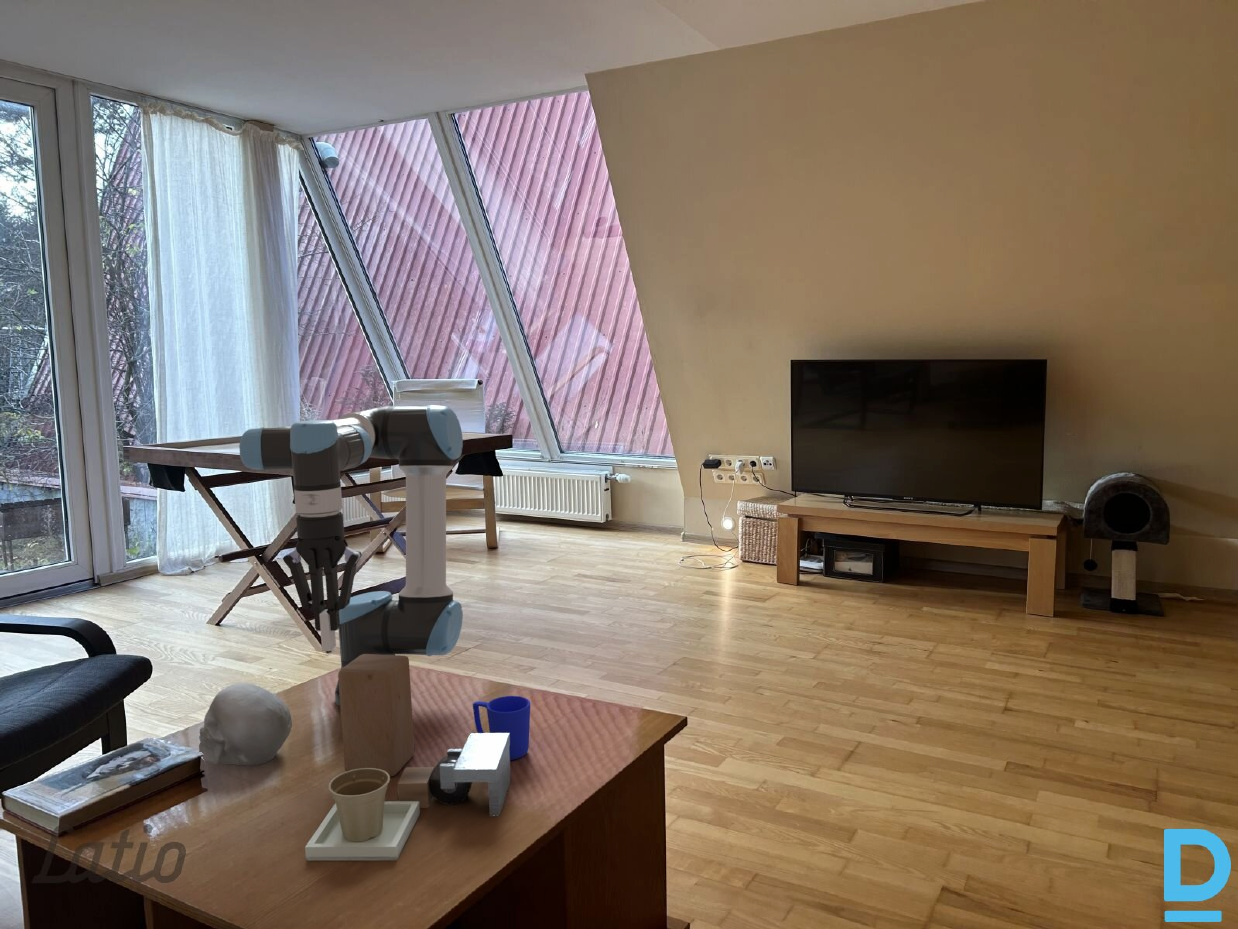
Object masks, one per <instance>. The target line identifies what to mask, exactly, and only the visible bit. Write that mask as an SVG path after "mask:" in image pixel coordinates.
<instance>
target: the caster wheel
mask: <svg viewBox="0 0 1238 929" xmlns="http://www.w3.org/2000/svg"><path fill="white" fill-rule="evenodd" d="M509 746H510V733H490V732H484V733H478V732H472V733H471V732H470V734H469V735H468V738H467V739H466V742H465V744H464V746H463V748H448V749H447V751H446V754H447V755H446V756H444V757H442V758H441V759H440V760H438V762H437V763H436V766H434V771H433V773H432V775H431V777H430V781H429V788H430V791H431V793H432V795H433V798H434V799H435V800H436V801H438V802H440V803H442V804H444V805H451V806H452V805H457V804H459V803H461V802H463V801H464V800H465V799H466V798H467V797H468V795H469V793H470V792H471V789H472V786H473V784H474V783H487V784H488V785H487V786H488V787H487V788H488V805H489V806H488V808H489V809H488V810H489V816H490V815H491V816H490V817H500V816H501V813H500V812H502V810H503V807H504V803H505V800H506V798H507V795H508V792H507V790H508V791H509V789H508V788H510V786H511V785H510V784H511V783H510V782H512V781H511V780H512V778H511V760H510V755H509ZM509 785H510V786H509ZM506 794H507V795H506ZM505 797H506V798H505ZM501 809H502V810H501ZM493 815H495V816H493ZM497 815H498V816H497ZM499 815H500V816H499Z"/></svg>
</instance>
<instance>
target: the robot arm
mask: <svg viewBox="0 0 1238 929" xmlns="http://www.w3.org/2000/svg"><path fill="white" fill-rule="evenodd" d="M463 442H464V439H463V431H462V428H461V424H460V421H459V419H458V416H457V414H456V412H454V410H453V409H452V408H450V407H449V406H445V405H435V404H428V405H427V404H426V405H395V406H394V405H385V406H378V407H373V408H369V409H364V410H360V411H355V412H350V413H349V412H348V413H346V414H343V415H341V416H340V417H339V418H337V419H333V420H331V419H315V420H314V419H313V420H312V419H311V420H303V421H296V422H294V423H292V424H291V425H287V426H279V427H262V426H261V427H259V428H257V427H256V428H250V429H247V430H245V431H244V432H243V433H242V436H241V438H240V441H239V446H238V449H239V457H240V461H241V463H243V465H244V467H246V468H247V469H250V470H258V471H261V470H262V471H279V470H281V471H285V470H288V471H289V470H292V476H293V491H294V492H293V494H294V508H295V512H296V513H298V515H296V516H297V517H296V518H295V519H296V520H295V521H296V533H297V543H296V545H295V549H294V550H293V551H291V552H289V553H287V554H285V555H283V557H282V561H283V562H284V563H285V565H286V566H287V567H288V569H289V570H290V574H291V577H292V580H293V583H294V586H295V588H296V593H297V595H298V596H297V597H298V598H299V601H300V605H301V608H302V609H303V610H305V611H307V610H308V611H311V612H312V613H313V616H314V617H313V618H314V628H315V631H316V632H320V639H321V640H320V641H321V651H322V652H331V651H333V649H335V648H336V647H337V640H336V639H337V637H336V631H338V639H339V641H338V642H339V653H340V666H341V667H340V670H341V669H342V668H343V667H345V666H346V665H348V664H349V663H350V662H352V661H353V660H355V659H356V658H357V657H359V656H360V655H362V654H379V655H409V656H413V655H415V656H418V655H419V656H428V657H432V656H445V655H447V654H450V653H451V652H452V651H453V650H454V648H455V647H456V645H457V643H458V640H459V638H460V636H461V631H462V627H463V616H464V615H463V609H462V608H463V607H462V603H460V602H459V601H458V600H454V591H453V590H452V589H451V588H450V587H449V586H448V585H447V475H448V473H449V472H450V471H451V470H452V469H453V468H454V461H455V460H456V459H459V458H460V457H461V455H462V452H463V446H464V444H463ZM369 458H373V459H385V460H398V468H399V469H400V470H401V472H403V473H404V475H405V586H404V587H403V588H402V589H401V590H400V591H399V592H398V599H394V600H393V598H394V597H393V595H392V593H391V592H390V591H388V590H378V591H377V590H376V591H370V592H366V593H361V594H357V595H354V596H352V592H353V591H352V590H353V586H354V582H355V580H354V579H355V575H356V568H357V564H358V562H359V561H360V559H361V557H362V552H361V551H360V550H357V551H355V550H354V549H352V548H351V547H349V545H348V542H347V540H346V538H345V527H344V526H345V524H344V514H343V512H341V510H342V509H343V498H342V497H343V496H342V485H341V484H342V482H341V472H342V471H347V470H348V469H355V468H357V467H359V466H360V465H362V464H364V463H365V462H367V460H368V459H369ZM342 557H344V561H345V562H346V563H345V566H344V570H343V576H342V582H341V587H340V591H339V579H338V569H339V565H338V564H339V563H340V560H341V559H342ZM302 560H303V561H304V562H305V563H306V565H308V566H307V567H308V574H309V576H310V584H309V582H308V579H307V576H306V572H305V570H304V566H303V564H302ZM323 573H324V574H323ZM323 575H325V576H323ZM324 577H325V578H324ZM323 578H324V579H325V586H326V587H325V588H326V589H325V590H326V602H327V604H325V590H324V579H323ZM326 607H327V609H326ZM334 702H335V704H336V705H337V706H338V707H339V708H340V695H339V681H338V680H337V683H336V687H335V691H334Z"/></svg>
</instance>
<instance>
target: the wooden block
mask: <svg viewBox="0 0 1238 929" xmlns="http://www.w3.org/2000/svg"><path fill="white" fill-rule="evenodd" d="M410 672H411V670H410V659H409V656H408V655H407V656H406V655H402V654H395V655H379V654H362V655H360V656H359V657H357V658H356V659H355V660H353V661H352V662H350V663H349V664H348V665H346V666H345V667H343V668H342V669H341V668H340V669H339V670H338V675H337V676H338V677H337V678H338V679H337V682H338V681H339V695H340V707H339V710H340V718H341V720H340V721H341V733H342V735H341V736H342V747H343V749H342V750H343V751H342V752H343V762H344V772H347V771H350V770H354V769H360V768H376V769H381V770H384V771H386V772H387V773H388V774H389V776H390V778H391V777H394V776H396V775H397V774H398V773H399V771H401V769H402V768H404V766H405V765H406V764H407V763H408V762H409V761H410V760H411V759H412V758H413V756H414V754H415V741H414V739H415V738H414V721H413V720H414V719H413V707H412V706H413V705H412V704H413V703H412V690H411V689H412V688H411V687H412V686H411V674H410Z"/></svg>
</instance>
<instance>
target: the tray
mask: <svg viewBox="0 0 1238 929" xmlns="http://www.w3.org/2000/svg"><path fill="white" fill-rule="evenodd" d="M420 814H421V808H420V804H419V801H399V800H395V801H386V800H385V803H384V814H383V829H382V831H381V833H380V834H379V835H377V836H376V837H371V838H369V839H368V840H366V841H349V840H347V839H346V838H345V837H344V836H343V835H342V830H341V825H340V820H339V816H338V812H337V807H336V803H334V804H333V805H332V807H331V809H330V810H329V812H328V813H327V815H326V816H325V817H324V819H323V820H322V822H321V823H320V825H319V826H318V828H317V829H316V831H315V832H314V833H313V835H312V837H311V838H310V839H309V841H308V842H307V843H306V845H305V847H304V848H305V849H304V850H305V851H304V852H305V861H306V862H307V861H311V862H312V861H315V862H316V861H329V862H330V861H334V862H335V861H338V862H339V861H398V859H399V857H400V855H401V853H402V851H403V849H404V847H405V845H406V843H407V840H408V839H409V837H410V835H411V833H412V830H413V829H414V826H415V825H416V822H417V820H418V818H419V817H420V816H421V815H420Z"/></svg>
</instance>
